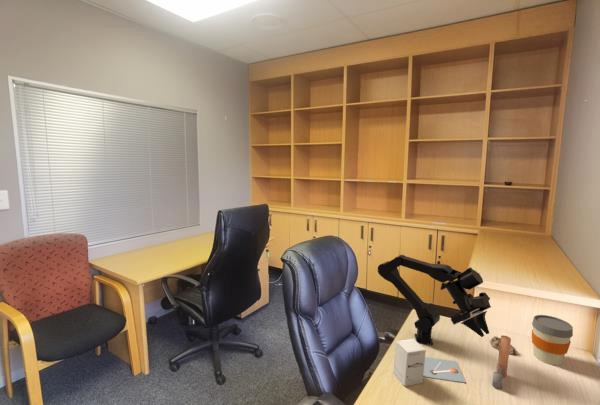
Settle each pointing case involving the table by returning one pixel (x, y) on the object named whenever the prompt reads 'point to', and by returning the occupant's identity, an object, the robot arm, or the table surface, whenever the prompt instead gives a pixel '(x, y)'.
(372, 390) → the table surface
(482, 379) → the table surface
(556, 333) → the reusable coffee cup
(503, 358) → the orange grey t-shaped piece
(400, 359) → the supplement box
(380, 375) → the table surface
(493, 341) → the mineral rock
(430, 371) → the card
